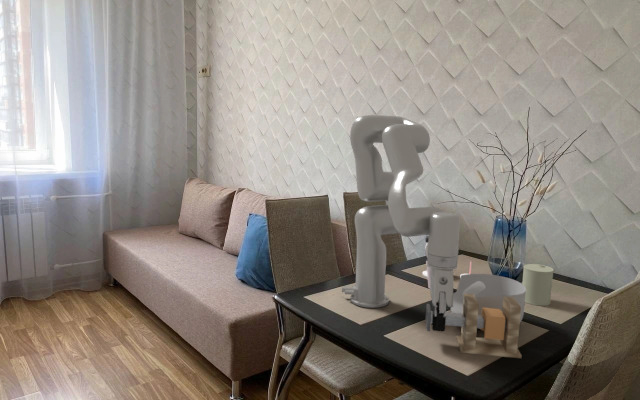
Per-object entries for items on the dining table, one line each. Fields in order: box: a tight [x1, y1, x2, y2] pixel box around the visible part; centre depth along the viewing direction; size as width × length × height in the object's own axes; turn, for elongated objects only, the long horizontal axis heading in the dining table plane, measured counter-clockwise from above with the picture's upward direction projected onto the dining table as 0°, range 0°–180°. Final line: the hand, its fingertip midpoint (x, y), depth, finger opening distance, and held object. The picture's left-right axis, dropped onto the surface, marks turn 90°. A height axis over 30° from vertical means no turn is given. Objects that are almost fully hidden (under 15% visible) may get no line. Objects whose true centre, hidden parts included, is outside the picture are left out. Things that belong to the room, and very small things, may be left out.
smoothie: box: [425, 260, 431, 290], centre depth 159 cm, size 6×6×14 cm
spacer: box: [480, 308, 505, 340], centre depth 114 cm, size 4×6×6 cm
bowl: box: [450, 273, 526, 330], centre depth 131 cm, size 20×19×12 cm
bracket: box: [456, 293, 522, 359], centre depth 114 cm, size 14×8×13 cm, turn 80°
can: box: [521, 263, 555, 307], centre depth 149 cm, size 9×9×12 cm
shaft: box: [425, 303, 507, 332], centre depth 115 cm, size 22×6×5 cm, turn 80°
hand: (437, 327), depth 117 cm, fingers closed on shaft, 2 cm apart
